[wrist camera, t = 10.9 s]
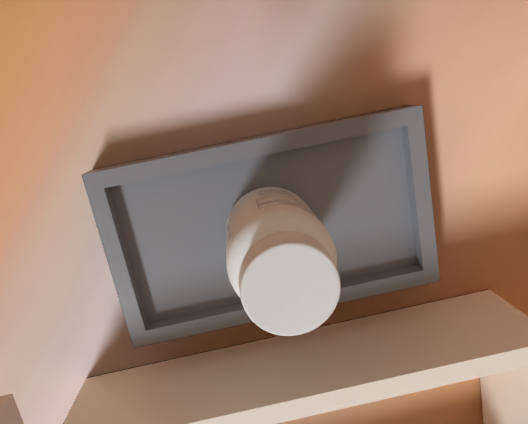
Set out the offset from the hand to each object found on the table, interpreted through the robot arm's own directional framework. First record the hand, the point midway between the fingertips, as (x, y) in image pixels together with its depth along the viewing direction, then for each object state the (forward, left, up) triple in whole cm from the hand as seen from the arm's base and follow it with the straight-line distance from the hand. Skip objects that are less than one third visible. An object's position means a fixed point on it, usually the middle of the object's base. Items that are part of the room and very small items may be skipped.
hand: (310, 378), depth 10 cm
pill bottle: (0, 0, -13) cm, 13 cm away
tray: (0, 0, -13) cm, 13 cm away
